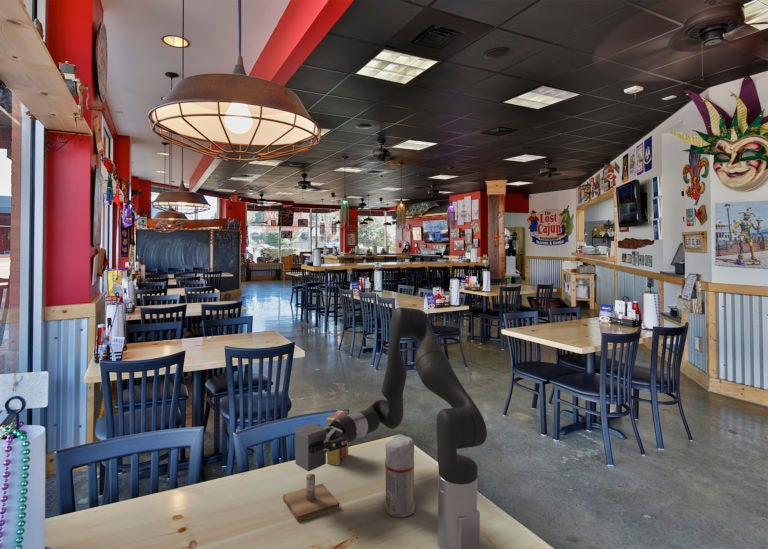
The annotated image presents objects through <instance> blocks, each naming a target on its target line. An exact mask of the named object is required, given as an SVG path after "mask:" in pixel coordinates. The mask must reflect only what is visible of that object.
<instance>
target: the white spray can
mask: <svg viewBox="0 0 768 549" xmlns="http://www.w3.org/2000/svg"><path fill="white" fill-rule="evenodd" d="M384 467H385V468H384V470H385V473H384V476H385V477H384V478H385V511H386V513H387V514H388V515H390V516H392V517H394V518H395V517H396V518H406V517H409V516H411V515H413V514H414V513H415V512H416V508H415V440H414V439H413V438H412V437H410V436H406V435H405V434H397V435H395V436H394V437H392V439H391V440H390V441H387V442H386V444H385V460H384Z"/></svg>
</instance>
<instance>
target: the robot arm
mask: <svg viewBox="0 0 768 549" xmlns="http://www.w3.org/2000/svg"><path fill="white" fill-rule="evenodd" d="M402 337H403V338H413V339H415V340H417V341H418V343H419V347H418V349H417V351H416V353H415V356H414V366H415V367H414V368H415V370H416V371H417V372H416V373H417V374H418V376H419V378H420V381H421V383H422V384H423V385H424V387H426V389H428V390H429V391H430V392H432V393H433V394H435V395H436V396H437V397H439V398H440V399H442V400H444V401H445V402H446V403H447V404H448V405H450V407H449V408H443V409H440V410H439V412H438V413H437V416H436V425H435V427H436V430H435V431H436V454H437V456H436V458H437V464H438V475H437V476H438V482H437V483H438V485H437V488H438V489H437V495H438V498H437V544H438V547H439V548H441V549H480V541H481V540H480V538H481V537H480V533H481V531H480V527H481V524H480V523H481V512H480V511H479V510H478V472H479V471H478V465H477V463H476V462H475V461H474V460H473V459H472V458H470V457H468V456H465V455H463V454H459V453H458V450H459V449H467V448H474V447H478V446H482V445H483V444H484V443H485V442H486V441H487V437H488V432H487V431H488V429H487V426H486V425H487V424H486V421H485V419H484V417H483V415H482V413H481V411H480V409H479V407H478V406H477V405H476V404H475V402H474V401H473V399H472V398H471V396H470V395H469V393H468V392H467V391H466V389H465V388H464V387H463V385H462V383H461V381H460V380H459V378H458V376H457V374H456V373H455V371H454V369H453V366H452V365H451V362H450V361H449V359H448V357H447V356H446V354H445V352H444V350H443V348H442V346H441V344H440V343H439V341H438V339H437V337H436V335H435V333H434V329H433V327H432V324H431V322H430V320H429V317H428V314H426V312H425V311H424V310H422V309H419V308H413V307H411V308H410V307H403V306H397V307H396V308H395V309H394V310H393V312H392V314H391V319H390V325H389V336H388V349H387V361H386V369H385V371H384V372H385V374H384V377H383V382H382V385H381V395H382V396H383V397H384V398H385V399H378V400H376V401H374V402H373V403H371V405H369V406H368V407H367V408H366V409H363V410H361V411H357V412H354V413H350V414H347V415H346V416H343V417H341V418H338V419H335V420H333V421H332V423H331V425H330V426H329V427H326V426H323V428H325V429H326V439H324V440H323V441H319V442H317V443H314V444H311V445H310V453H315V452H317V451H320V450H322V449H323V450H326V451H327V449H328V451H334V450H337V449H340V448H343V447H346V446H347V443H348V444H349V443H351V442H353V441H356V440H358V439H360V438H362V437H364V436H365V435H368V434H371V433H373V432H375V431H377V430H378V429H379V427H380V423H381V424H382V425H383V426H384V427H386V428H388V429H390V430H391V429H392V430H395V429H396V428H398V427H399V426H400V424H401V423H402V421H403V418H404V395H403V394H404V390H405V385H406V383H407V382H406V381H407V374H408V373H407V367H406V363H405V361H404V359H403V355H402V351H401V340H402ZM317 425H319V426H321V424H317ZM334 444H335V446H334V447H333V445H334Z"/></svg>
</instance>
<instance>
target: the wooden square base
mask: <svg viewBox="0 0 768 549" xmlns="http://www.w3.org/2000/svg"><path fill="white" fill-rule="evenodd" d="M305 478H306V479H305V480H306V481H305V482H306V483H305V484H306V486H305V488H302V489H297V490H295V491H290V492H288V493H285V494H282V501H283V502H284V503H285V506H286V507H287V508H288V510H289V511H290V512H291V514H292V516H293V517H294V519H295V520H296V522H298V523H299V522H302V521H305V520H309V519H311V518H315V517H317V516H320V515H323V514H324V515H325V514H327V513H329V512H333V511H337V510H339V509H340V505H341V504H340V502H339V501H338V500H337V498H336V497H335V496H334V495H333V494H332V493H331V491H329V490H328V488H327V487H326V486H325V485H324V484H323V483H320V484H316V474H315V473H309V474H307V475H306V476H305Z"/></svg>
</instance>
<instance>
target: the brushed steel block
mask: <svg viewBox="0 0 768 549" xmlns="http://www.w3.org/2000/svg"><path fill="white" fill-rule="evenodd" d="M294 431H295V432H294V434H295V436H294V438H295V440H294V441H295V442H294V444H295V448H294V449H295V450H294V455H295V462H294V463H295V465H297V466H298V467H300V468H301V469H303V470H306V472H311V471H312V470H315V469H317V468H318V469H319V468H320V467H322V466H325V465H326V464H327V450H323V449H322V450H320V451H317V452H315V453H310V445H311V444H314V443H317V442H319V441H323V440H324V439H326V429H325V428H324V426H321V425H320V426H319V425H317V424H316V423H314V422H311V423H308V424H305V425H302V426H299V427H297V428H296V427H295V429H294Z"/></svg>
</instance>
